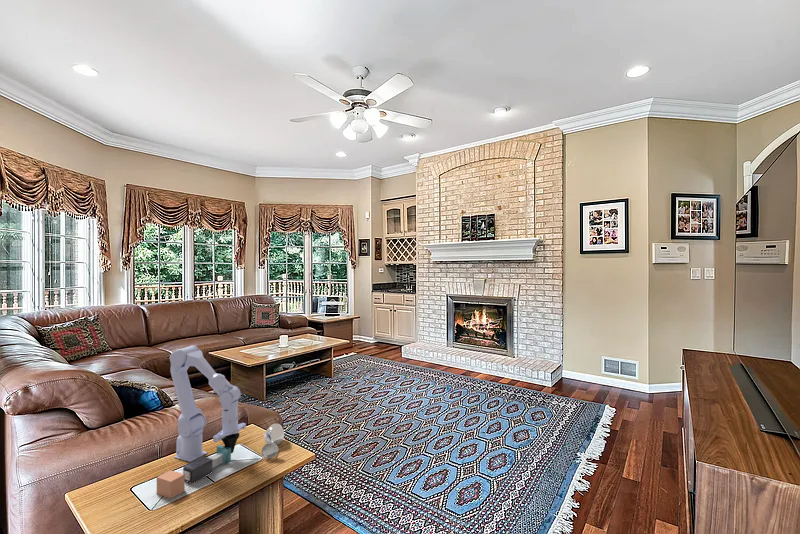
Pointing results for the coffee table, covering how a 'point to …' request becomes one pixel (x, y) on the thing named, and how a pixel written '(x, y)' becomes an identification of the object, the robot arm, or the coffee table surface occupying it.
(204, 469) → the dark grey rectangular bar
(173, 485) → the orange brown block
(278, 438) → the wineglass
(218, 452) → the grey and teal block
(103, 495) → the coffee table surface
